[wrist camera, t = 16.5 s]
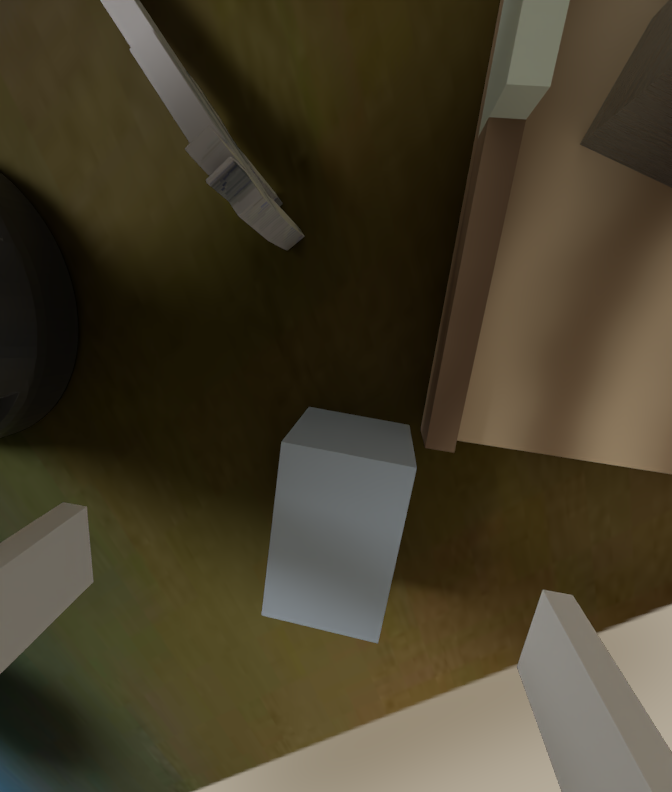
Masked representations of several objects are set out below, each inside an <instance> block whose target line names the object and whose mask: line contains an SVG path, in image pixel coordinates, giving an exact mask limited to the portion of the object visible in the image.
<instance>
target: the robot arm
mask: <svg viewBox="0 0 672 792" xmlns="http://www.w3.org/2000/svg"><path fill="white" fill-rule="evenodd" d="M77 346H78V315H77V306H76V300H75V295H74V290H73V286H72V282H71V279H70V275H69V272H68V269H67V267H66V264H65V261H64V259H63V256H62V254H61V252H60V249H59V247H58V245H57V243H56V241H55V239H54V237H53V236H52V234H51V232H50V230H49V229H48V227H47V225H46V224H45V222H44V221H43V219H42V218H41V216H40V215H39V213H38V212H37V211H36V209H35V208H34V207H33V205H32V204H31V203H30V202H29V201H28V199H27V198H26V197H25V196H24V195H23V194H22V193H21V192H20V191H19V189H18V188H17V187H16V186H15V185H14V184H12V183H11V182H10V181H9V180H8V179H7V178H6V177H5V176H4V175H2V174H1V173H0V438H2V437H5V436H8V435H11V434H14V433H16V432H19V431H22V430H24V429H26V428H28V427H30V426H32V425H33V424H35V423H36V422H38V421H39V420H40V419H42V418H43V417H44V416H45V415H46V414H47V413H48V412H49V411H50V410H51V409H52V408H53V407H54V406H55V405H56V403H57V402H58V400H59V399H60V397H61V396H62V394H63V392H64V391H65V389H66V387H67V384H68V382H69V380H70V377H71V374H72V371H73V368H74V364H75V359H76V354H77ZM92 583H93V572H92V561H91V549H90V538H89V527H88V515H87V507H86V506H81V505H76V504H70V503H65V502H63V503H61V504H60V505H58V506H56V507H55V508H53V509H52V510H50V511H49V512H47V513H46V514H44V515H43V516H41V517H40V518H38V519H36V520H35V521H33V522H32V523H30V524H29V525H27V526H26V527H24V528H23V529H21V530H20V531H18V532H16V533H15V534H13V535H12V536H10V537H9V538H7V539H6V540H4V541H3V542H1V543H0V674H1V673H2V672H3V671H4V670H5V669H6V668H7V667H8V666H9V665H10V664H11V663H12V662H13V661H14V660H15V659H16V658H17V657H18V656H19V655H20V654H21V653H22V652H23V651H24V650H25V649H26V648H27V647H28V646H29V645H30V644H31V643H32V642H33V641H34V640H35V639H36V638H37V637H38V636H39V635H40V634H41V633H42V632H43V631H44V630H45V629H46V628H47V627H48V626H49V625H50V624H51V623H52V622H53V621H54V620H55V619H56V618H57V617H58V616H59V615H60V614H61V613H62V612H63V611H64V610H65V609H66V608H67V607H68V606H69V605H70V604H71V603H72V602H73V601H74V600H75V599H76V598H77V597H78V596H79V595H80V594H81V593H82V592H83V591H85V590H86V589H87V588H88V587H89V586H90V585H91V584H92ZM517 669H518V672H519V674H520V677H521V680H522V683H523V685H524V688H525V691H526V694H527V697H528V699H529V702H530V705H531V708H532V711H533V713H534V716H535V719H536V722H537V724H538V727H539V730H540V733H541V735H542V738H543V741H544V744H545V747H546V750H547V752H548V755H549V758H550V761H551V763H552V766H553V769H554V772H555V775H556V777H557V780H558V783H559V786H560V789H561V791H562V792H672V752H671V750H670V749H669V747H668V745H667V744H666V742H665V741H664V739H663V738H662V736H661V734H660V733H659V731H658V730H657V728H656V726H655V725H654V723H653V722H652V720H651V719H650V717H649V715H648V714H647V712H646V711H645V709H644V708H643V706H642V704H641V703H640V701H639V700H638V698H637V697H636V695H635V693H634V692H633V690H632V689H631V687H630V685H629V684H628V682H627V681H626V679H625V677H624V676H623V674H622V673H621V671H620V669H619V668H618V666H617V665H616V663H615V662H614V660H613V658H612V657H611V655H610V654H609V652H608V650H607V649H606V647H605V646H604V644H603V642H602V641H601V639H600V638H599V636H598V634H597V633H596V631H595V630H594V628H593V626H592V625H591V623H590V622H589V620H588V619H587V617H586V615H585V614H584V612H583V611H582V609H581V607H580V606H579V604H578V603H577V601H576V600H575V598H574V596H573V595H570V594H564V593H559V592H553V591H548V590H542V593H541V596H540V599H539V602H538V605H537V608H536V611H535V614H534V617H533V620H532V623H531V626H530V629H529V632H528V635H527V638H526V641H525V644H524V647H523V650H522V653H521V656H520V659H519V662H518V665H517Z"/></svg>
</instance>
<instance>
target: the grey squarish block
mask: <svg viewBox="0 0 672 792" xmlns="http://www.w3.org/2000/svg"><path fill="white" fill-rule="evenodd" d="M580 145H582V146H584V147H586V148H588V149H591V150H593V151H595V152H597V153H599V154H601V155H603V156H605V157H608V158H610V159H612V160H614V161H616V162H618V163H620V164H622V165H625V166H627V167H629V168H631V169H633V170H635V171H637V172H639V173H642V174H644V175H646V176H648V177H650V178H652V179H654V180H656V181H659V182H661V183H663V184H665V185H667V186H669V187H671V188H672V0H669V1H668V2H667V3H666V4H665V5H664V6H663V7H662V8H661V9H660V10H659V11H658V13H657V14H656V15H655V16H654V17H653V18H652V19H651V21H650V23H649V24H648V26H647V28H646V30H645V31H644V33H643V35H642V37H641V38H640V40H639V42H638V44H637V45H636V47H635V49H634V50H633V52H632V54H631V56H630V57H629V59H628V61H627V63H626V64H625V66H624V68H623V70H622V71H621V73H620V75H619V77H618V78H617V80H616V82H615V84H614V85H613V87H612V89H611V91H610V92H609V94H608V96H607V98H606V99H605V101H604V103H603V105H602V106H601V108H600V110H599V112H598V113H597V115H596V117H595V119H594V120H593V122H592V124H591V126H590V127H589V129H588V131H587V133H586V134H585V136H584V138H583V140H582V141H581V143H580Z"/></svg>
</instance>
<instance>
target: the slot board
mask: <svg viewBox="0 0 672 792" xmlns="http://www.w3.org/2000/svg"><path fill="white" fill-rule="evenodd" d="M668 1H669V0H570V2H569V6H568V11H567V15H566V20H565V24H564V29H563V33H562V37H561V42H560V46H559V51H558V55H557V60H556V64H555V68H554V73H553V77H552V82H551V86H550V88H549V89H548V91H547V92H546V93H545V95H544V96H543V97H542V99H541V100H540V101H539V103H538V104H537V106H536V107H535V108H534V110H533V111H532V112H531V114H530V115H529V116H528V118H527V119H510V118H495V117H489V118H488V120H487V122H486V124H485V126H484V127H483V129H482V131H481V133H480V135H479V129H480V124H481V119H482V113H483V108H484V103H485V98H486V92H487V87H488V82H489V76H490V71H491V66H492V60H493V55H494V50H495V45H496V39H497V34H498V29H499V23H500V18H501V13H502V7H503V2H504V0H501V1H500V6H499V11H498V17H497V22H496V27H495V33H494V38H493V44H492V49H491V54H490V60H489V65H488V70H487V76H486V81H485V86H484V92H483V97H482V102H481V108H480V113H479V118H478V124H477V129H476V135H475V140H474V145H473V151H472V156H471V161H470V167H469V172H468V177H467V183H466V188H465V193H464V199H463V204H462V209H461V215H460V220H459V226H458V231H457V236H456V242H455V247H454V252H453V258H452V263H451V268H450V274H449V279H448V284H447V290H446V295H445V300H444V306H443V311H442V316H441V322H440V327H439V333H438V338H437V343H436V349H435V354H434V359H433V365H432V370H431V375H430V381H429V386H428V391H427V397H426V402H425V407H424V413H423V418H422V424H421V429H420V430H421V434H422V438H423V442H424V446H425V448H428V449H434V450H440V451H447V452H453V453H454V452H455V447H456V442H457V441H463V442H470V443H476V444H482V445H489V446H495V447H501V448H508V449H514V450H520V451H527V452H533V453H539V454H546V455H552V456H559V457H565V458H571V459H578V460H584V461H590V462H597V463H603V464H609V465H616V466H622V467H628V468H635V469H641V470H647V471H654V472H660V473H667V474H672V188H671V187H669V186H667V185H665V184H663V183H661V182H659V181H656V180H654V179H652V178H650V177H648V176H646V175H644V174H642V173H639V172H637V171H635V170H633V169H631V168H629V167H627V166H625V165H622V164H620V163H618V162H616V161H614V160H612V159H610V158H608V157H605V156H603V155H601V154H599V153H597V152H595V151H593V150H591V149H588V148H586V147H584V146H582V145H580V143H581V141H582V140H583V138H584V136H585V134H586V133H587V131H588V129H589V127H590V126H591V124H592V122H593V120H594V119H595V117H596V115H597V113H598V112H599V110H600V108H601V106H602V105H603V103H604V101H605V99H606V98H607V96H608V94H609V92H610V91H611V89H612V87H613V85H614V84H615V82H616V80H617V78H618V77H619V75H620V73H621V71H622V70H623V68H624V66H625V64H626V63H627V61H628V59H629V57H630V56H631V54H632V52H633V50H634V49H635V47H636V45H637V44H638V42H639V40H640V38H641V37H642V35H643V33H644V31H645V30H646V28H647V26H648V24H649V23H650V21H651V19H652V18H653V17H654V16H655V15H656V14H657V13H658V11H659V10H660V9H661V8H662V7H663V6H664V5H665V4H666V3H667V2H668ZM478 135H479V137H478Z"/></svg>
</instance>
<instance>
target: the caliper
mask: <svg viewBox="0 0 672 792" xmlns="http://www.w3.org/2000/svg"><path fill="white" fill-rule="evenodd" d="M100 1H101V2H102V4H103V5H104V7H105V8H106V10H107V11H108V13H109V14H110V16H111V17H112V19H113V21H114V22H115V24H116V25H117V27H118V28H119V30H120V31H121V33H122V34H123V36H124V37H125V39H126V40H127V42H128V44H129V45H130V47H131V48H130V49H129V50H130V51H131V53H132V54H133V56H134V57H135V59H136V61H137V62H138V64H139V65H140V67H141V68H142V70H143V71H144V73H145V74H146V76H147V78H148V79H149V81H150V82H151V84H152V85H153V87H154V88H155V90H156V91H157V93H158V95H159V96H160V98H161V99H162V101H163V102H164V104H165V105H166V107H167V108H168V110H169V112H170V113H171V115H172V116H173V118H174V119H175V121H176V122H177V124H178V125H179V127H180V129H181V130H182V132H183V133H184V135H185V136H186V138H187V139H188V141H189V142H190V144H189V145H188V146H187V147H186V148H185V150H186V151H187V152H188V153H189V155H190V156H191V157H192V158H193V159H194V160H195V161H196V162H197V163H198V164H199V166H200V167H201V168H202V169H203V170H204V171H205V172H206V173H207V174H208V175H209V177H208V178H207V179H206V182H207V184H209V185H210V186H211V187H212V188H213V189H215V190H216V191H217V192H218V193H219V194H221V195H222V196H223V197H224V198H225V199H226V200H228V201H229V203H230V204H231V206H232V207H233V209H234V210H235V212H236V213H237V215H238V216H239V217H240V218H241V219H243V220H244V221H245V222H246V223H247V224H248V225H250V226H251V227H252V228H253V229H254V230H256V231H257V232H258V233H259V234H260V235H262V236H263V237H264V238H265V239H266V240H268V241H269V242H271V243H273V244H275V245H277V246H279V247H280V248H282V249H284V250H287V251H288V250H289V249H290V248H291V247H293V246H294V245H295V244H296V243H297V242H299V241H300V240H301V239H302V238H303V237H305V236H304V234H303V233H302V231H301V229H300V228H299V227H298V226H297V225H296V224H295V223H294V222H293V221H292V220H291V219H290V217H289V216H288V215H287V214H286V213H285V212H284V211H283V210H282V209H281V208H280V206H281V205H282V204H283V203H282V202H281V200H280V199H279V197H278V196H277V194H276V193H275V192H274V191H273V189H272V188H271V187H270V186H269V184H268V183H267V182H266V181H265V179H264V178H263V177H262V176H261V175H260V173H259V172H258V171H257V170H256V168H255V167H254V166H253V165H252V163H251V162H250V161H249V160H248V159H247V157H246V156H245V155H244V154H243V152H242V151H241V150H240V149H239V147H238V146H237V145H236V143H235V142H234V140H233V139H232V137H231V136H230V134H229V133H228V130H227V129H226V127H225V125H224V124H223V122H222V120H221V119H220V117H219V116H218V114H217V113H216V111H215V110H214V108H213V107H212V106H211V104H210V102H209V101H208V99H207V98H206V96H205V94H204V93H203V91H202V90H201V88H200V87H199V86H198V84H197V83H196V82H195V81H194V79H193V78H192V77H191V76H190V74H189V73H188V72H187V71H186V70H185V68H184V67H183V65H182V64H181V62H180V61H179V59H178V58H177V56H176V55H175V53H174V51H173V50H172V48H171V47H170V45H169V44H168V42H167V41H166V39H165V38H164V36H163V35H162V33H161V32H160V30H159V29H158V27H157V26H156V24H155V23H154V21H153V20H152V18H151V17H150V15H149V14H148V12H147V11H146V9H145V8H144V6H143V5H142V3H141V2H140V0H100Z"/></svg>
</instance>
